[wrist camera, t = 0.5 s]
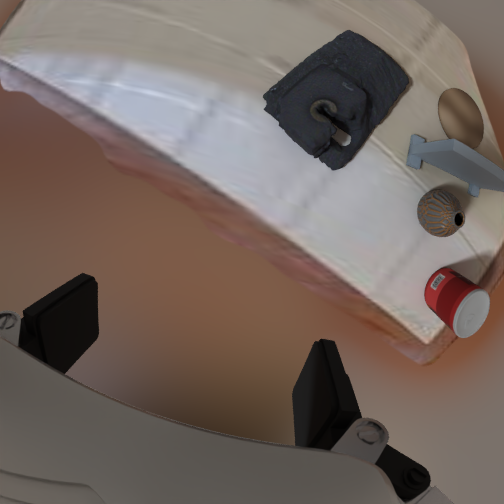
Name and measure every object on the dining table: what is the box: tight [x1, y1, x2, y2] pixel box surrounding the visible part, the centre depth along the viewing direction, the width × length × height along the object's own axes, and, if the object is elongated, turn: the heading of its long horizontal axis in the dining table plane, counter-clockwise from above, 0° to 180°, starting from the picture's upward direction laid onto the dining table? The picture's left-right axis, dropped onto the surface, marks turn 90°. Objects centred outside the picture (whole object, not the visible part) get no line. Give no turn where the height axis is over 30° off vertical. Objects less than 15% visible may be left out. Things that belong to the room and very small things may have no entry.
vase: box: [417, 190, 465, 237], centre depth 33 cm, size 7×7×9 cm
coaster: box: [438, 88, 484, 149], centre depth 32 cm, size 11×11×1 cm
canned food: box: [424, 268, 490, 338], centre depth 35 cm, size 8×8×11 cm
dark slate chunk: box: [263, 30, 409, 170], centre depth 32 cm, size 15×22×5 cm
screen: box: [406, 134, 504, 197], centre depth 29 cm, size 5×16×12 cm, turn 78°
